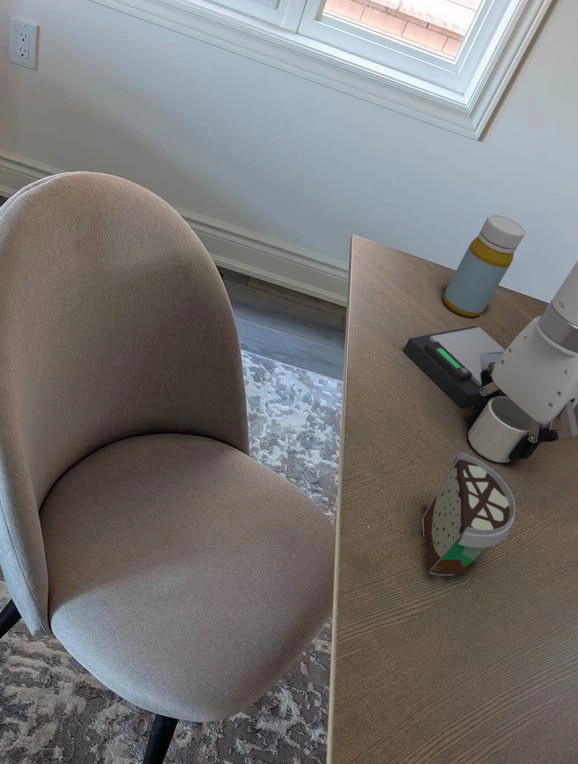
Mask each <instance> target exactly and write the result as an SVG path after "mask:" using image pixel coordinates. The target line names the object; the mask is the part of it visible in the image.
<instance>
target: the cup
mask: <svg viewBox="0 0 578 764" xmlns="http://www.w3.org/2000/svg"><path fill="white" fill-rule="evenodd" d="M531 419H532V418H531V417H530V416H529V415H528V414H526V413H525V412H524V411H523V410H522V409H521V408H520V407H519V406H518V405H517V404H516V403H514V402H513V401H512V400H511V399H510V398H509V397H508V396H496V397H493V398H491V399H490V401H489V402H488V403H487V405H486V406H485V408H484V409H483V411H482V412H481V414H480V415H479V417H478V418H477V420H476V421H475V422H473V424H472V426H471V428H470V429H469V431H468V432H467V433H468V434H467V435H468V436H467V438H468V441H469V443H470V445H471V447H472V449H473V450H474V451H475V452H476V453H477V455H480V456H481V457H482V458H484V459H486V460H488V461H490V462H494V463H500V464H501V463H502V464H503V463H504V464H505V463H510V462H511V461H510V460H509V455H510V454H511V452H512V451H513V450H514V448H515V447H516V445H517V444H518V443H519V441H520V440H521V439H522V437H524V436H527V435H529V431H530V425H531Z"/></svg>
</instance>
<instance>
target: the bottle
mask: <svg viewBox="0 0 578 764" xmlns="http://www.w3.org/2000/svg"><path fill="white" fill-rule="evenodd" d="M525 235H526V229H525V228H524V227H523V225H521V224H520V223H519V222H517V221H515V220H514V219H512V218H510V217H508V216H505V215H500V214H490V215H488V216H487V218H486V219H485V221H484V223H483V224H482V227H481V230H480V231H479V233H478V235H477V236H476V237H475V238H474V239H473V240H472V241H471V242H470V244H469V245H468V248H467V249H466V252H465V253H464V255H463V257H462V259H461V261H460V263H459V264H458V267H457V268H456V270H455V272H454V273H453V276H452V278H451V279H450V281H449V283H448V285H447V287H446V289H445V291H444V293H443V296H442V299H443V301H444V304H445V306H446V308H448V309H449V310H450V311H452V312H453V313H455V314H457V315H459V316H462V317H464V318H465V317H466V318H475V317H478V316H480V315H482V314H483V312H484V311H485V309H486V306H487V305H488V303H489V302H490V301H491V299H492V297H493V295H494V294H495V292H496V290H497V289H498V287H499V285H500V283H501V281H502V280H503V278H504V276H505V275H506V273H507V272H508V269H510V267H511V264H512V262H513V260H514V254H515V252H516V251H517V248H518V247H519V245H520V243H521V242H522V241H523V238H524V237H525Z"/></svg>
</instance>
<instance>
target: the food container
mask: <svg viewBox="0 0 578 764" xmlns="http://www.w3.org/2000/svg"><path fill="white" fill-rule="evenodd" d="M451 464H452V466H451V468H450V470H449V471H448V473H447V474H446V476H445V478H444V479H443V481H442V483H441V485H440V486H439V488H438V489H437V492H435V495H434V496H433V498H432V500H431V501H430V503H429V505H428V507H427V508H426V509H425V511H424V513H423V515H422V517H421V533H422V532H423V536H422V537H424V536H428V538H427V539H428V540H427V541H428V561H429V571H428V574H430V575H435V576H440V577H445V576H447V577H449V576H450V577H452V576H456V575H458V574H461V573H462V572H464V571H465V570H466V569H467V568H468V567H469V566H470V565H471V564H472V563H473V562H474V561H475V560H476V559H477V558H478V557H479V556H480V555H481V554H482V553H483V552H484V551H485V550H486V548H488V547H493V546H495V545H498V544H499V543H501V542H503V541H504V540H505V538H506V537H508V535H509V532H510V531H511V528H512V525H513V523H514V520H515V516H516V501H515V499H514V498H515V497H514V495H513V494H512V491H511V489H510V487H509V486H508V485H507V483H506V482H505V481H504V479H503V478H502V477H501V476H500V475H499V474H498V472H496V471H495V470H493V469H492V468H491V467H490V466H488V465H487V464H486V463H484V462H483V461H481V460H480V459H478V458H475V457H473V456H471V455H469V454H467V453H464V452H460V453H459V454H458V455H457V456H456V457H455V458H454V459H453V460H452V462H451ZM422 529H423V531H422Z"/></svg>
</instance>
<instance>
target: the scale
mask: <svg viewBox="0 0 578 764" xmlns="http://www.w3.org/2000/svg"><path fill="white" fill-rule="evenodd" d="M505 351H506V348H504V347H503V346H501V345H500V344H499V343H498V342H497V341H496V340H494V338H493V337H492V336H490V335H489V334H488V333H487V332H486V331H485V330H483V329H482V328H481V327H480V326H477V325H475V326H468V327H463V328H458V329H453V330H447V331H441V332H436V333H431V334H425V335H420V336H414V337H410V338H408V340H407V341H406V344H405V345H404V348H403V349H402V352H403V353H404V354H405V356H407V357H408V358H409V359H410V360H411V361H412V362H413V363H414V364H415V365H416V366H417V367H418V368H419V369H420V370H421V371H422V372H424V374H425V375H426V376H427V377H428V378H429V379H430V380H431V381H432V382H433V383H434V384H435V385H436V386H438V387H439V389H441V390H442V392H443V393H445V394H446V395H447V396H448V398H450V400H452V401H453V402H454V403H455V405H457V406H458V407H459V408H460V409H462V408H466V407H470V406H473V405H474V406H475V404H476V403H477V401H478V399H479V398H480V396H481V394H480V389H481V388H482V384H481V377H480V373H481V371H482V369H481V363H480V356H481V355H482V354H485V353H491V352H505ZM495 365H496V363H495V364H494V367H495ZM499 395H500V396H504V397H508V396H507V395H506V394H505V393H504V392H503V391H501V392H499Z"/></svg>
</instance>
